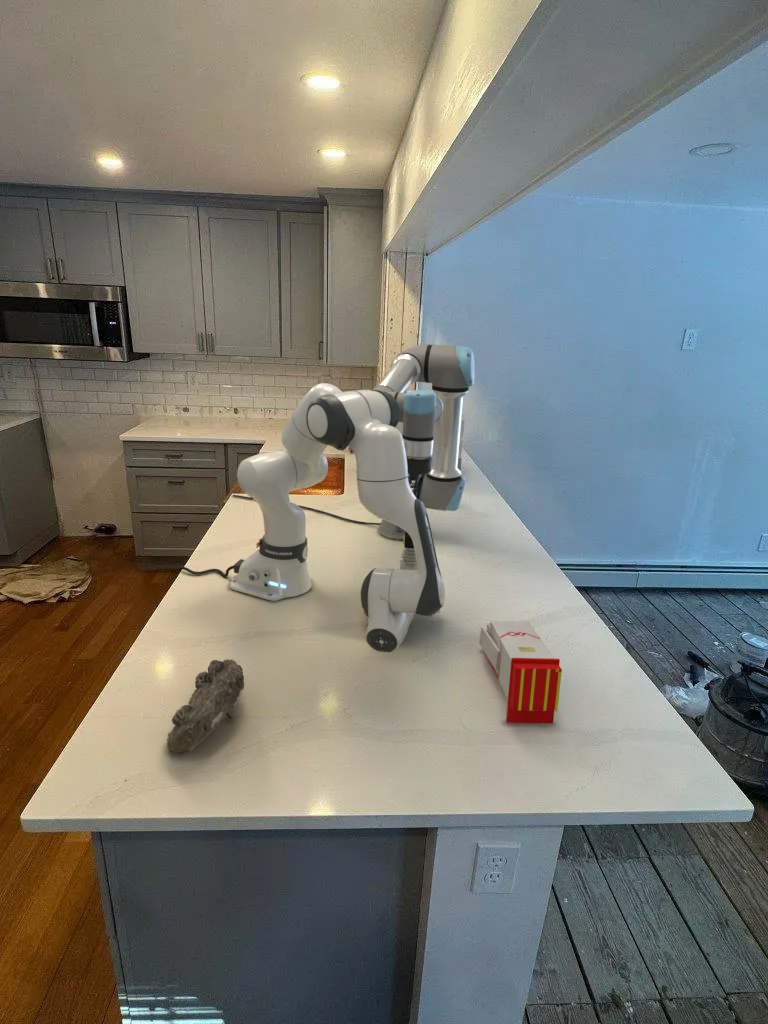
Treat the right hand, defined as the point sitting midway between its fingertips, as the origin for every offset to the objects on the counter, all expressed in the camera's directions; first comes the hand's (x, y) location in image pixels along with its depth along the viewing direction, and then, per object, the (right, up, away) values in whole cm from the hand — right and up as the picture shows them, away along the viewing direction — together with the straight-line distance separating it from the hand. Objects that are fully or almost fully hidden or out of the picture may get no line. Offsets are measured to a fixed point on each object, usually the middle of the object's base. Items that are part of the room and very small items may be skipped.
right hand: (410, 543), depth 146 cm
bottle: (-1, -17, +6) cm, 18 cm away
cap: (0, +1, -1) cm, 2 cm away
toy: (+21, -28, -23) cm, 42 cm away
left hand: (0, -11, +5) cm, 12 cm away
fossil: (-40, -31, -38) cm, 63 cm away
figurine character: (-23, +42, +166) cm, 173 cm away
